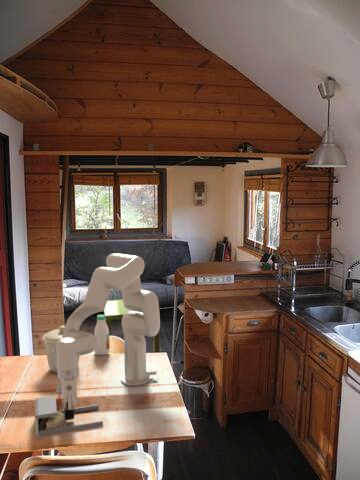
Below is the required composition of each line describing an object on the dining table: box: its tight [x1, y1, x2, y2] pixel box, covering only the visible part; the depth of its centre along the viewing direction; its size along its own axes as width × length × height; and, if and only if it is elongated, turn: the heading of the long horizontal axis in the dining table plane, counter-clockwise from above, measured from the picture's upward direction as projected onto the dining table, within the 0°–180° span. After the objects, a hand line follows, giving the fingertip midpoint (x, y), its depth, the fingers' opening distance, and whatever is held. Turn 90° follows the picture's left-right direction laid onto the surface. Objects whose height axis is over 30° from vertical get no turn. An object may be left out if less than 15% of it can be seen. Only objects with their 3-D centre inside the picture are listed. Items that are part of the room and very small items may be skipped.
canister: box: [42, 325, 80, 374], centre depth 206 cm, size 18×18×21 cm
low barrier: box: [34, 395, 104, 437], centre depth 161 cm, size 23×13×8 cm, turn 108°
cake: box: [39, 410, 68, 431], centre depth 159 cm, size 10×10×5 cm
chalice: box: [52, 348, 62, 394], centre depth 184 cm, size 7×7×18 cm
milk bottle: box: [93, 314, 111, 356], centre depth 225 cm, size 8×8×20 cm
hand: (69, 418), depth 161 cm, fingers closed
